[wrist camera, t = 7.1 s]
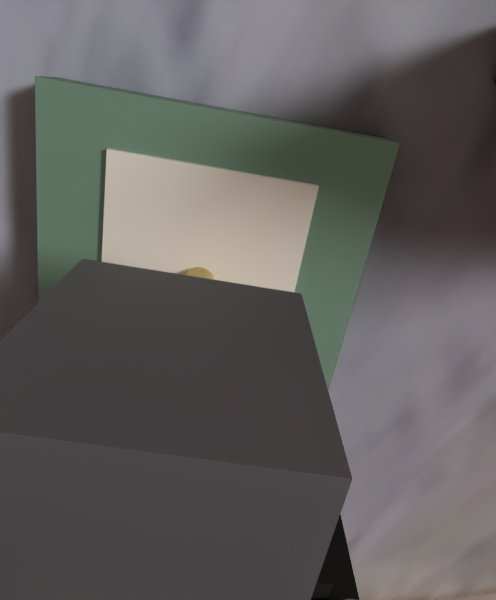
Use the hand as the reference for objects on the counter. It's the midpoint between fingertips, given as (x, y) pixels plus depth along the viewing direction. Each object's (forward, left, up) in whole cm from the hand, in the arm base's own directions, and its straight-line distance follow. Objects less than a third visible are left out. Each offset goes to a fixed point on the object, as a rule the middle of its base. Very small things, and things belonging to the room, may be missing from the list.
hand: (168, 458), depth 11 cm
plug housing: (0, 0, 0) cm, 0 cm away
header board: (0, 0, -7) cm, 7 cm away
